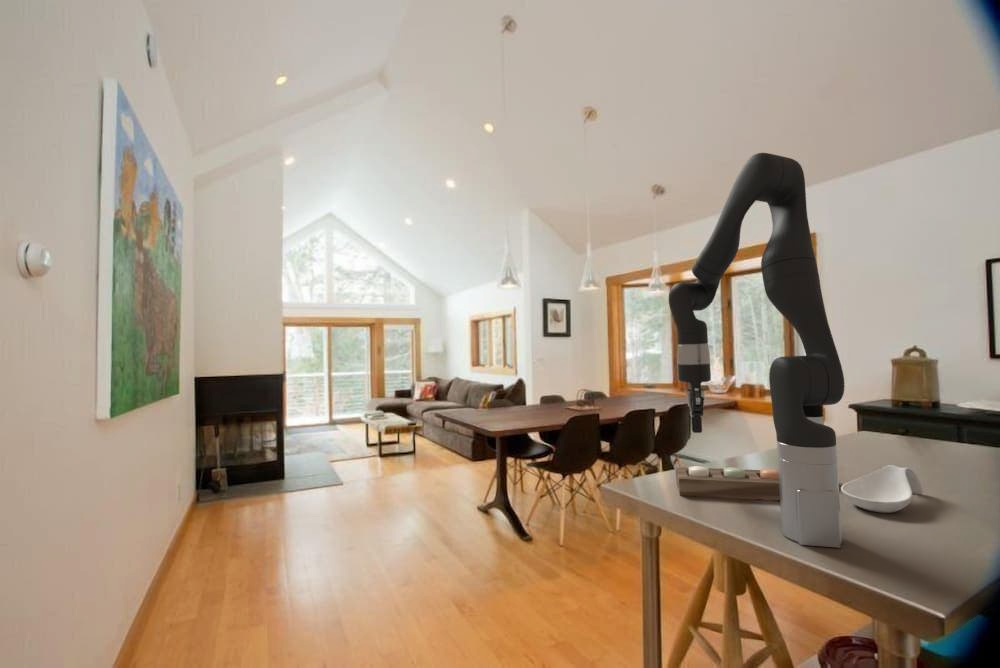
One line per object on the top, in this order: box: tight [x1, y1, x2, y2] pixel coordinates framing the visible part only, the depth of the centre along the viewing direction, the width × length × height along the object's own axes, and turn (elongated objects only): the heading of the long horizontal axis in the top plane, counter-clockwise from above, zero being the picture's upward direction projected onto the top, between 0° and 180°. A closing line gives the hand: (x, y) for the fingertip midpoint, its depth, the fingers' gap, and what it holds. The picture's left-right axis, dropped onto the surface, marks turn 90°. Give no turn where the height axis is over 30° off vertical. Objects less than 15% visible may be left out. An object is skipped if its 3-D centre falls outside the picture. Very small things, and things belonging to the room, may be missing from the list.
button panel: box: [675, 466, 780, 501], centre depth 113 cm, size 11×26×4 cm, turn 73°
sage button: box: [723, 466, 746, 478], centre depth 113 cm, size 5×5×3 cm
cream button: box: [688, 465, 709, 477], centre depth 115 cm, size 5×5×3 cm
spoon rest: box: [840, 464, 923, 514], centre depth 102 cm, size 24×12×7 cm, turn 122°
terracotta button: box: [759, 468, 779, 480], centre depth 110 cm, size 5×5×3 cm
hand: (696, 432), depth 115 cm, fingers closed
